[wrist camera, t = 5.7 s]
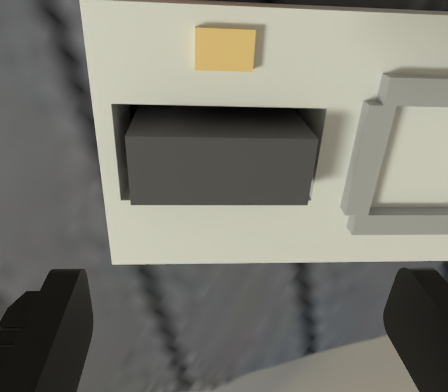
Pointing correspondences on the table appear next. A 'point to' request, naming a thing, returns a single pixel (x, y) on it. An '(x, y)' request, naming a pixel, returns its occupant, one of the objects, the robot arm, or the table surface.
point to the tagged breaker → (219, 156)
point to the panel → (283, 98)
